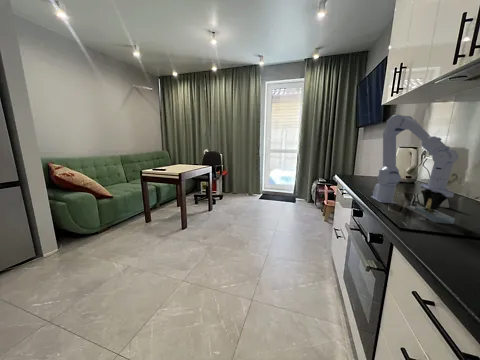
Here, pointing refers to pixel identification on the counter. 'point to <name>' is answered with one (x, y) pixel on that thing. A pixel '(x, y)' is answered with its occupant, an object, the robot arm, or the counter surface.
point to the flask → (445, 202)
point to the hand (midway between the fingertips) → (430, 207)
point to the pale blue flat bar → (432, 215)
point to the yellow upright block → (429, 205)
